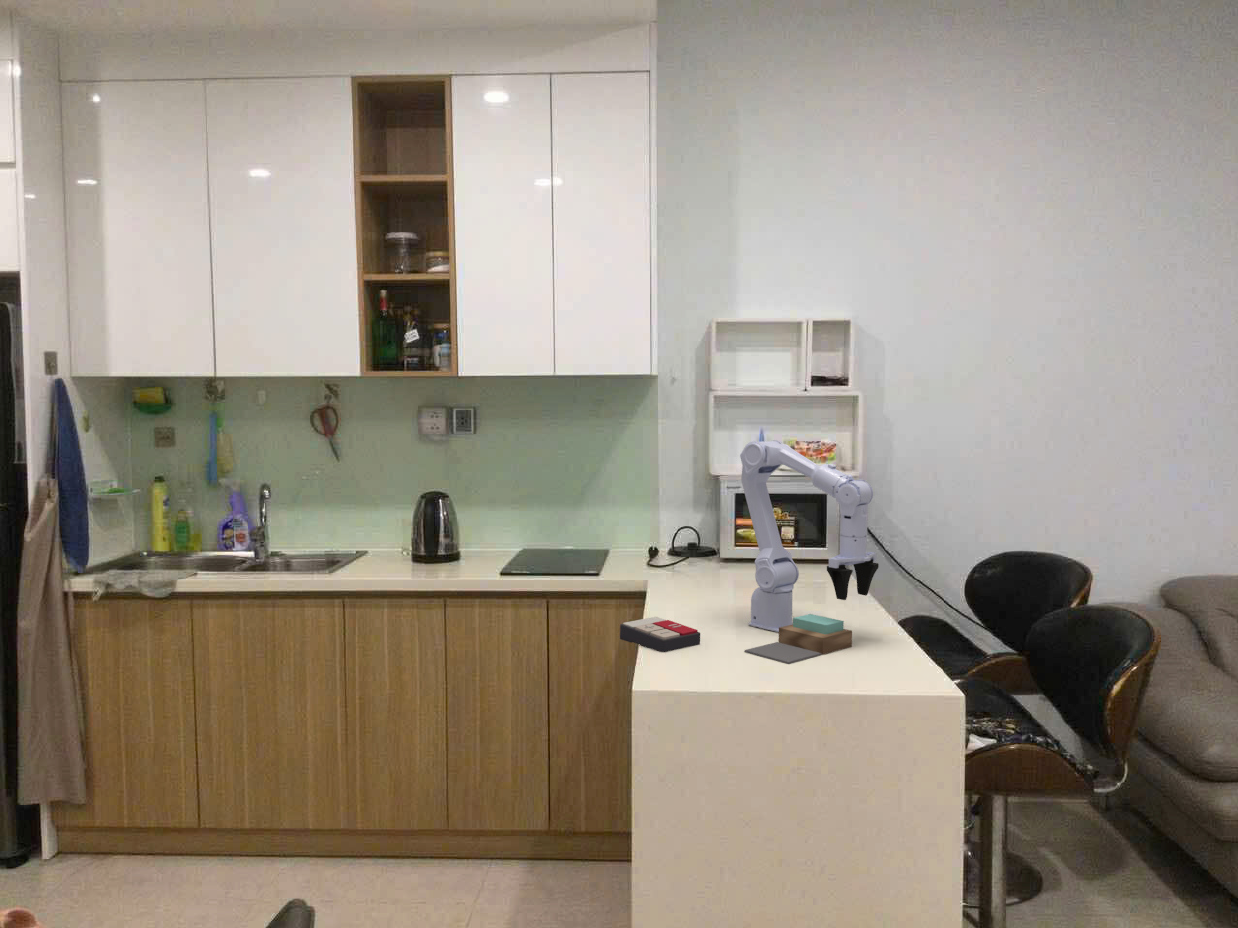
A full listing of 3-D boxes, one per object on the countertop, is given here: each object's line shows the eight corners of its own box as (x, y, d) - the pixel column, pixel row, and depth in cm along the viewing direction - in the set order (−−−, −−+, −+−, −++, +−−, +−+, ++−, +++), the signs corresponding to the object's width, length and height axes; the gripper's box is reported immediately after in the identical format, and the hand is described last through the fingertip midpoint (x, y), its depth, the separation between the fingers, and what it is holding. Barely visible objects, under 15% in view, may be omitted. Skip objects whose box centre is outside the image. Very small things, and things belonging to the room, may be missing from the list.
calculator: (663, 637, 193) (619, 620, 205) (663, 656, 194) (618, 639, 206) (701, 629, 200) (656, 613, 212) (700, 648, 201) (655, 632, 212)
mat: (744, 651, 194) (744, 650, 194) (777, 643, 201) (777, 641, 201) (788, 663, 185) (788, 662, 185) (821, 654, 191) (821, 653, 191)
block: (792, 626, 202) (793, 617, 201) (810, 622, 205) (810, 613, 205) (826, 634, 195) (826, 625, 194) (843, 630, 198) (843, 620, 198)
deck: (778, 643, 201) (778, 627, 201) (807, 636, 207) (807, 620, 207) (822, 654, 192) (823, 638, 192) (851, 646, 198) (852, 630, 198)
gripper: (848, 540, 193) (846, 604, 193) (888, 534, 202) (887, 595, 203) (821, 536, 198) (820, 598, 199) (862, 531, 207) (860, 590, 208)
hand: (852, 596), depth 201 cm, fingers open, 7 cm apart
